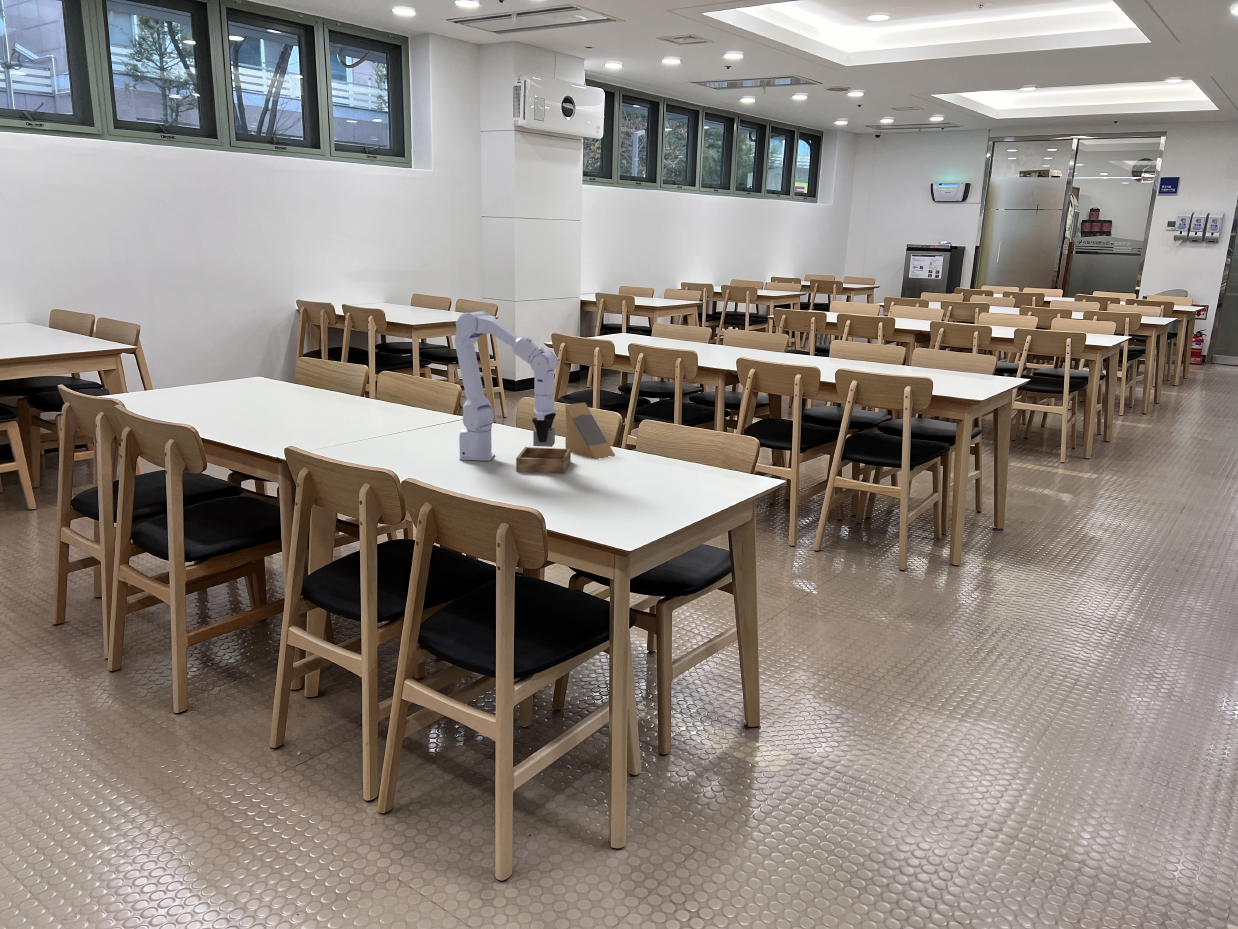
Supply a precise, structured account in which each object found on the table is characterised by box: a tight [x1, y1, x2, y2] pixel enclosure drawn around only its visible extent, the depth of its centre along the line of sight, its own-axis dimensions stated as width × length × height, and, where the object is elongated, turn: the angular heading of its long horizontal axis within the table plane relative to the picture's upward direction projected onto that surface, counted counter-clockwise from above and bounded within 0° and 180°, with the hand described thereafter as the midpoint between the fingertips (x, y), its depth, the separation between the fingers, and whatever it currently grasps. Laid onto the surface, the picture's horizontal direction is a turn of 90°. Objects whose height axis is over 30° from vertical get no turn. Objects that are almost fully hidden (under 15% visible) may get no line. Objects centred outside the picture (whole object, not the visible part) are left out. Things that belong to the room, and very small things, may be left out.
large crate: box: [515, 446, 572, 475], centre depth 258 cm, size 14×14×4 cm
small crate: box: [532, 427, 556, 448], centre depth 256 cm, size 6×6×4 cm
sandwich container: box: [564, 402, 616, 460], centre depth 274 cm, size 9×15×15 cm, turn 44°
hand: (544, 439), depth 256 cm, fingers closed on small crate, 5 cm apart
